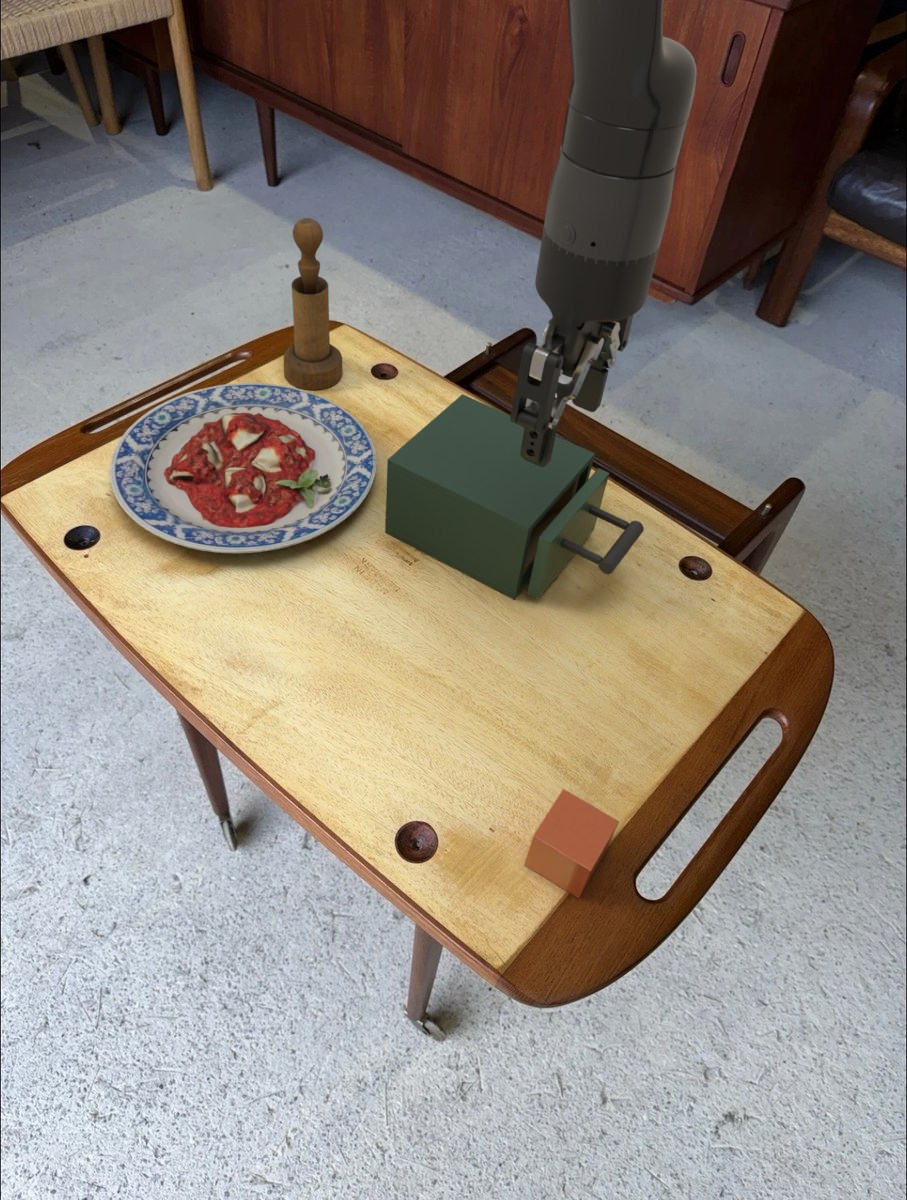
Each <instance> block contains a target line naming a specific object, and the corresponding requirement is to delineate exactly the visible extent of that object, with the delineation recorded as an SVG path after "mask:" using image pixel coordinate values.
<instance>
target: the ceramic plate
mask: <svg viewBox="0 0 907 1200" xmlns="http://www.w3.org/2000/svg"><path fill="white" fill-rule="evenodd" d="M110 459H111V460H110V465H109V481H110V486H111V489H112V492H113V495H114V496H115V498H116V500H117V502H118V504H119V506H120V507H121V508H122V509H123V511H124V512H125V513H126V515H127V516H129V517H130V519H131V520H133V521H134V522H135V523H136V524H137V525H139V526H140V527H141V528H142V529H144V530H146V531H147V532H149V533H150V534H152V535H154V536H156V537H158V538H160V539H162V540H164V541H167V542H170V543H172V544H175V545H178V546H182V547H185V548H189V549H193V550H197V551H203V552H211V553H218V554H219V553H223V554H249V553H262V552H268V551H275V550H279V549H285V548H288V547H292V546H295V545H299V544H302V543H304V542H307V541H309V540H313V539H314V538H317V537H319V536H321V535H323V534H325V533H327V532H328V531H330V530H332V529H334V528H336V527H337V526H338V525H340V524H341V523H342V522H344V521H345V520H347V519H348V518H349V517H350V516H351V515H352V514H353V513H354V512H355V511H356V510H357V509H359V507H360V506H361V505H362V504H363V502H364V500H365V499H366V497H367V496H368V495H369V493H370V491H371V489H372V487H373V483H374V481H375V478H376V477H375V476H376V473H377V454H376V449H375V445H374V443H373V440H372V438H371V436H370V434H369V433H368V431H367V430H366V429H365V427H364V426H363V424H362V423H361V422H360V421H359V420H358V419H357V418H356V417H354V415H353V414H351V413H350V412H349V411H347V410H346V409H345V408H343V407H342V406H340V405H338V404H337V403H335V402H334V401H332V400H330V399H328V398H326V397H324V396H321V395H319V394H316V393H313V392H310V391H308V390H305V389H301V388H298V387H294V386H288V385H280V384H272V383H263V382H262V383H261V382H245V383H243V382H242V383H226V384H218V385H214V386H209V387H205V388H200V389H196V390H192V391H188V392H185V393H182V394H180V395H178V396H175V397H173V398H171V399H168V400H166V401H164V402H163V403H161V404H158V405H157V406H156V407H153V408H152V409H150V410H149V411H147V412H145V413H144V414H143V415H142V416H140V417H139V418H138V419H137V420H136V421H134V422H133V423H132V424H131V426H129V427H128V429H126V431H125V432H124V433H123V435H122V436H121V437H120V439H119V440H118V442H117V444H116V446H115V447H114V450H113V453H112V456H111V458H110Z"/></svg>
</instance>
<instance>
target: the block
mask: <svg viewBox="0 0 907 1200" xmlns="http://www.w3.org/2000/svg"><path fill="white" fill-rule="evenodd" d="M619 823H620V821H619V820H618V819H616V818H615V817H612V816H610V815H609V814H607V813H606V812H604V811H602V810H600V809H599V808H597V807H596V806H594V805H592V804H590V803H588V802H587V801H585V800H583V799H582V798H580V797H579V796H577V795H575V794H573V793H571V792H570V791H568V790H567V789H564V788H563V789H562V790H561V792H560V794H558V796H557V798H556V799H555V800H554V802H553V804H552V806H551V807H550V809H549V811H548V812H547V813H546V815H545V816H544V818H543V820H542V821H541V822H540V824H539V826H538V827H537V829H536V831H535V832H534V833H533V836H532V839H531V842H530V845H529V848H528V852H527V853H526V857H525V861H524V866H526V867H527V868H528V869H531V871H534V872H535V873H536V874H538V875H540V876H542V877H543V878H545V879H546V880H548V881H549V882H551V883H553V884H554V885H556V886H557V887H559V888H561V889H562V890H564V891H566V892H567V893H569V894H571V895H572V896H574V897H575V898H577V899H580V898H581V896H582V894H583V892H584V890H585V889H586V887H587V885H588V883H589V881H590V880H591V878H592V876H593V874H594V873H595V872H596V870H597V867H598V866H599V864H600V863H601V861H602V859H603V857H604V856H605V854H606V852H607V850H608V848H609V845H610V843H611V841H612V840H613V837H614V834H615V832H616V831H617V828H618V826H619Z"/></svg>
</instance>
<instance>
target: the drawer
mask: <svg viewBox="0 0 907 1200" xmlns="http://www.w3.org/2000/svg"><path fill="white" fill-rule="evenodd" d="M609 477H610V472H609V471H606V470H604V469H602V468H599V467H598V468H597V469H596V470H595V471H594V472H593V473H592V474H591V476H589V479H588V480H587V482H586V483H585V484H584V485H583V486H582V487H581V489H580V490H579V491H578V492H577V493H576V489H577V485H578V481H579V477H578V478H577V479H576V480H575V482H574V483H573V484H572V485H571V486H570V487H569V488H568V490H567V491H566V492H565V493H564V494H563V495H562V496H561V497H560V499H559V500H558V501H557V502H556V503H555V504H554V505H553V507H552V508H551V509H550V510H549V511H548V512H547V513H546V515H545V516H544V517H543V518H542V519H541V520H540V521H539V523H538V524H537V525H536V526H535V527H534V528H533V529H532V532H531V537H530V542H529V547H528V552H527V557H526V562H525V567H524V572H523V575H524V574H525V572H526V571H527V570H528V569H529V568H530V566H531V565H532V564H533V563H534V564H533V568H532V573H531V578H530V582H529V583H528V587H527V592H526V594H527V595H528V596H531V597H532V598H535V599H537V600H539V599H540V598H541V596H542V595H543V594H544V593H545V592H546V590H548V588H549V587H550V586H551V584H552V583H553V581H554V580H555V579H556V578H557V577H558V575H560V573H561V572H562V571H563V569H564V568H565V567H566V565H567V564H568V563H569V562H570V561H571V559H572V558H573V557H574V556H575V555H577V556H578V557H580V558H583V559H585V560H586V561H589V562H590V563H593V564H594V565H597V566H598V569H599V571H600V572H601V573H603V574H605V575H611V574H613V573H614V571H615V570H616V569H617V567H618V566H619V565H620V563H621V562H622V560H623V559H624V558H625V557H626V555H627V554H628V553H629V551H630V550H631V548H632V547H633V546H634V545H635V543H636V542H637V540H638V539H639V538H640V536H641V535H642V534H643V532H645V531H644V530H645V527H644V524H642V522H640V521H638V520H632V521H630V522H629V521H627V520H625V519H623V518H620V517H618V516H617V515H615V514H612V513H610V512H608V511H605V510H604V509H601V506H602V502H603V500H604V499H603V498H604V495H605V491H606V488H607V485H608V480H609ZM575 493H576V494H575ZM598 519H600V520H602V521H605V522H607V523H609V524H611V525H612V526H615V527H616V528H620V529H622V530H623V531H622V533H621V534H620V535H619V537H618V538H617V539H616V540H615V542H613V544H612V545H611V547H610V548H609V550H608V551H607V552H606V553H605V555H604V556H601V555H600V554H597V553H595V552H593V551H591V550H589V549H587V548H585V547H583V546H582V545H583V544H584V543H585V542H586V541H587V539H589V537H590V536H591V535H592V534H593V532H594V531H595V528H596V524H597V520H598Z"/></svg>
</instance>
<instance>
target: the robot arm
mask: <svg viewBox="0 0 907 1200" xmlns="http://www.w3.org/2000/svg"><path fill="white" fill-rule="evenodd" d="M566 1H567V2H566V3H567V12H568V13H567V17H568V35H569V44H570V54H571V68H572V69H571V71H572V73H571V74H572V75H571V82H570V86H569V91H568V92H569V93H568V99H567V105H566V111H565V112H566V113H565V118H564V124H563V131H562V138H561V144H560V148H559V152H558V157H557V160H556V164H555V166H554V170H553V173H552V178H551V181H550V185H549V191H548V196H547V197H548V198H547V203H546V211H545V217H544V223H543V230H542V236H541V243H540V248H539V255H538V260H537V261H538V262H537V267H536V273H535V281H534V282H535V284H534V285H535V289H536V293H537V294H538V296H539V298H540V299H541V300H542V301H543V302H544V304H545V305H546V306H547V308H548V309H549V311H550V313H551V316H552V317H551V318H550V319H549V320H548V322H547V324H546V326H545V328H544V331H543V334H542V335H541V341H542V344H541V346H540V345H537V344H535V343H532V342H527V343H526V344H525V346H524V347H523V349H522V352H521V356H520V357H521V358H520V364H519V368H518V374H517V378H516V385H515V390H514V395H513V401H512V406H511V411H510V416H511V417H510V421H511V422H513V423H516V424H518V425H520V426H522V427H525V428H524V434H523V439H522V445H521V451H520V455H521V457H522V458H523V459H524V460H526V461H528V462H530V463H533V464H535V465H537V466H539V467H545V466H546V465H547V464H548V463H549V461H550V460H551V456H552V451H553V446H554V441H555V436H557V431H558V425H559V423H560V419H561V416H562V414H563V413H564V410H565V407H566V405H567V404H568V402H569V401H571V402H572V404H573V405H574V406H575V407H578V408H580V409H583V410H585V411H588V412H589V413H594V412H596V411H597V410H598V409H599V408H600V407H601V403H602V399H603V396H604V392H605V387H606V383H607V379H608V376H609V375H608V374H609V372H610V371H609V370H611V369H612V368H613V366H614V365H615V364H616V362H617V351H619V352H623V351H624V350H625V349H626V347H627V346H628V342H629V341H628V340H629V336H630V331H631V327H632V324H633V323H632V322H633V319H634V315H635V314H637V313H639V311H640V310H641V309H642V308H643V307H644V305H645V303H646V301H647V298H648V294H649V290H650V287H651V282H652V278H653V276H654V275H653V274H654V271H655V267H656V264H657V259H658V255H659V251H660V247H661V243H662V240H663V236H664V233H665V229H666V224H667V221H668V216H669V212H670V208H671V204H672V199H673V193H674V191H673V190H674V185H675V184H674V182H675V175H676V170H677V165H678V162H679V158H680V154H681V150H682V145H683V143H684V138H685V134H686V131H687V127H688V123H689V119H690V115H691V110H692V106H693V101H694V97H695V93H696V92H695V91H696V86H697V80H698V79H697V78H698V71H697V70H698V69H697V64H696V61H695V57H694V56H693V54H692V53H691V51H690V50H689V49H687V48H686V46H684V45H683V44H681V43H679V42H678V41H676V40H674V39H672V38H670V37H667V36H663V33H664V32H663V31H664V30H663V13H664V12H663V11H664V2H665V0H566ZM562 375H563V376H565V377H568V378H571V379H570V380H569V382H566V383H562V382H559V381H560V377H562Z"/></svg>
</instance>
